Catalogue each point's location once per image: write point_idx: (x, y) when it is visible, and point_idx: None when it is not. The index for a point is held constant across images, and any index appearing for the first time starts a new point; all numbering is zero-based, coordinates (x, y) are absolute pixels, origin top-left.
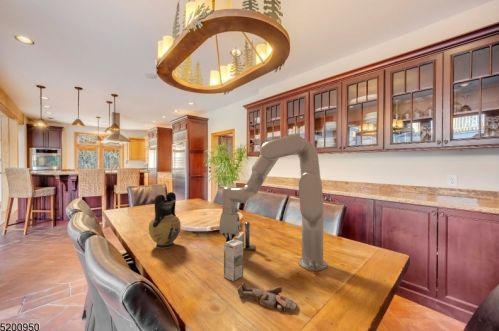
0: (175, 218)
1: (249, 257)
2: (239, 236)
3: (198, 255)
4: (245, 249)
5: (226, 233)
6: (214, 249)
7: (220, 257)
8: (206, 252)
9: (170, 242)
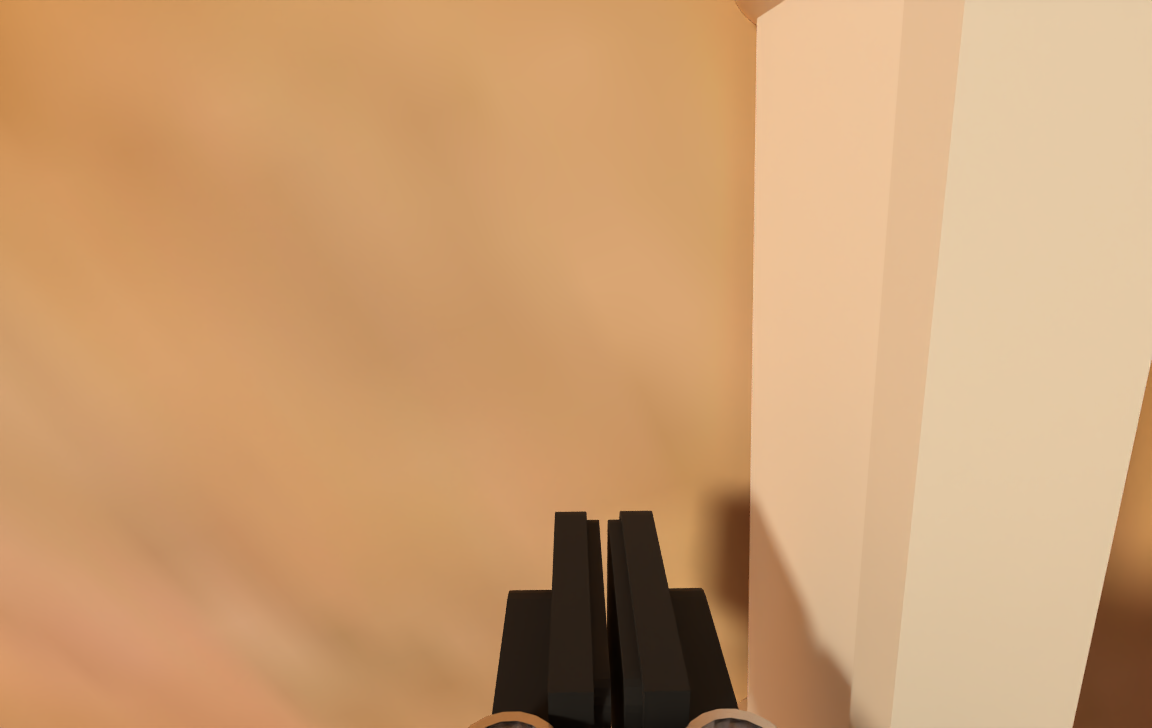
0: None
1: None
2: (1076, 569)
3: (64, 690)
4: None
5: None
6: (119, 338)
7: (501, 641)
8: (88, 537)
9: None
